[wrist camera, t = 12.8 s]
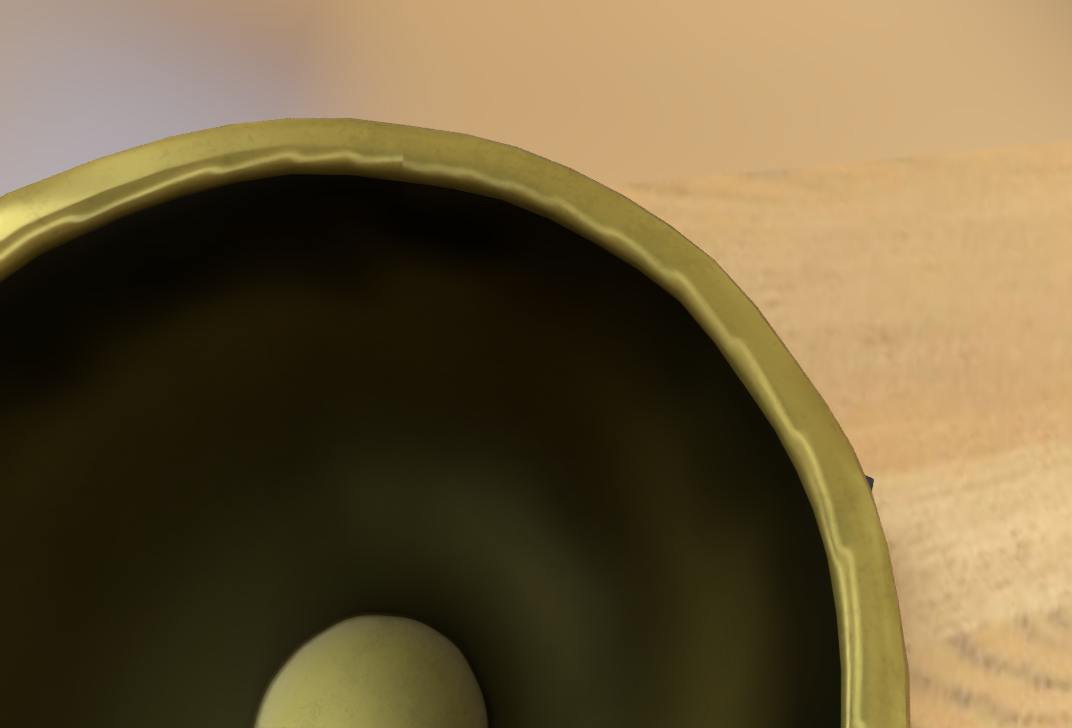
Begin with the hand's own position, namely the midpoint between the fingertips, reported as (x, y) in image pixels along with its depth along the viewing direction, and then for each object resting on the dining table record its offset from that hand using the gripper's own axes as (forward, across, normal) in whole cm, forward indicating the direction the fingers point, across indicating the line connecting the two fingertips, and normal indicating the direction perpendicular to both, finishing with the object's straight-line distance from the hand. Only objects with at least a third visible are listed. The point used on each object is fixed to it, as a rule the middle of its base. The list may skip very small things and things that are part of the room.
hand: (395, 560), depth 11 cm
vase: (+4, 0, +6) cm, 8 cm away
